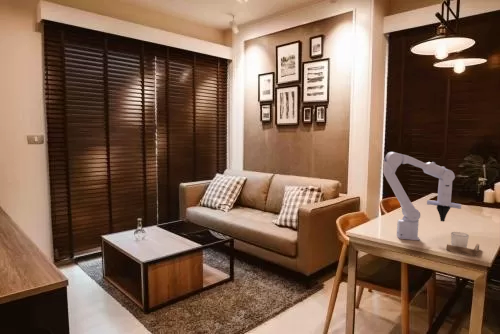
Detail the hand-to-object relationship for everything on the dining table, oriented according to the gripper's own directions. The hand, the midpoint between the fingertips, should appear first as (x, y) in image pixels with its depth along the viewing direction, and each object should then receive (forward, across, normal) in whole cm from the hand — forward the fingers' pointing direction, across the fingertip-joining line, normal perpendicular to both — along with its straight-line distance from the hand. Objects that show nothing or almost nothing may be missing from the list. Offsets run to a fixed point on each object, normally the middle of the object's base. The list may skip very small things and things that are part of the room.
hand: (442, 221), depth 164 cm
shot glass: (+10, +9, -10) cm, 16 cm away
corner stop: (+9, +13, -12) cm, 20 cm away
